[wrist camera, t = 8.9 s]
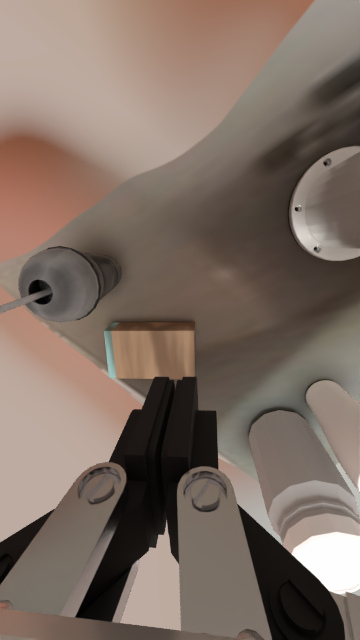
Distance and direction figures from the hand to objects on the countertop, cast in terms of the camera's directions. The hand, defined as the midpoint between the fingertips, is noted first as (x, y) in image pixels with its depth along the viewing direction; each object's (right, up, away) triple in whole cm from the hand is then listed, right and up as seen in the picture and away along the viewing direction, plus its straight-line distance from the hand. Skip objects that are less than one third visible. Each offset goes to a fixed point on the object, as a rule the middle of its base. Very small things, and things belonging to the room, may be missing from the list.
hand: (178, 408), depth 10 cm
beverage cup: (-10, +10, +26) cm, 30 cm away
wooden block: (+2, -1, +26) cm, 26 cm away
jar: (+16, -14, +31) cm, 38 cm away
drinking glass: (+22, -8, +29) cm, 37 cm away
